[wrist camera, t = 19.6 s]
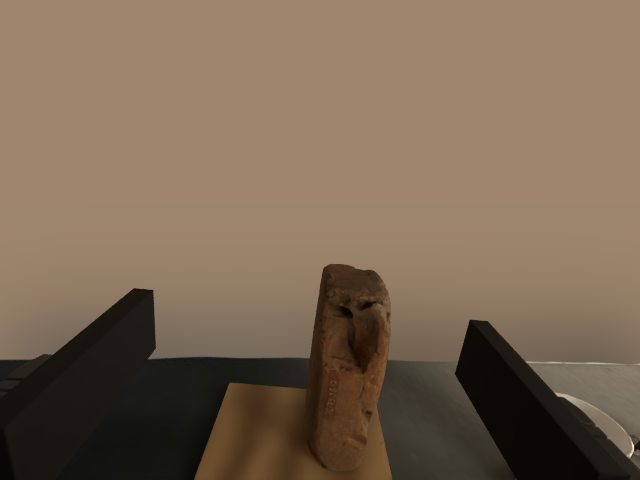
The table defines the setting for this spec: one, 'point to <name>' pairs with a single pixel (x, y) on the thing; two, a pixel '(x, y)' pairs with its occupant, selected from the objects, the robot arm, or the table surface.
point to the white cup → (604, 425)
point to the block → (346, 364)
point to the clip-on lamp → (638, 446)
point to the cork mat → (276, 440)
